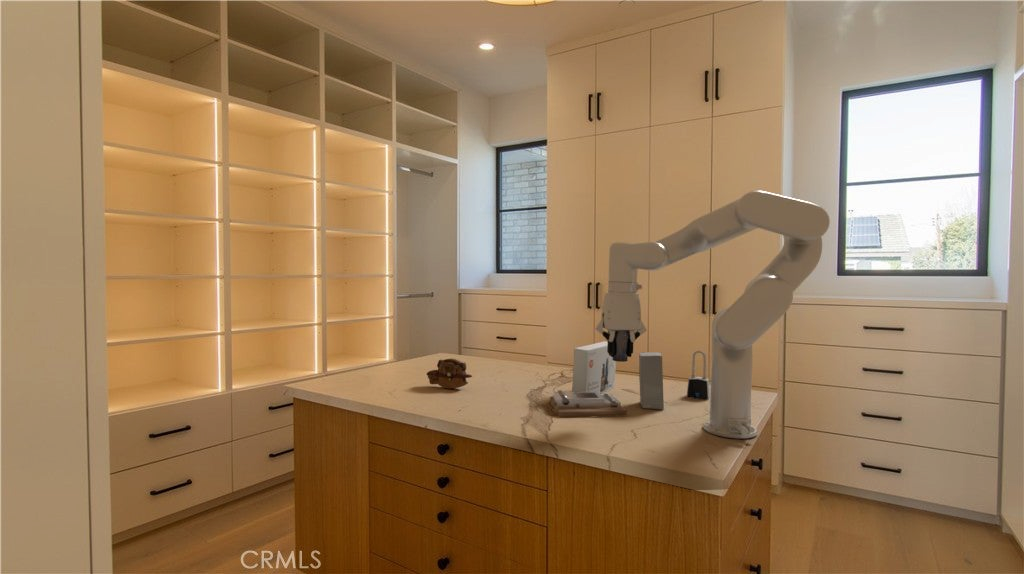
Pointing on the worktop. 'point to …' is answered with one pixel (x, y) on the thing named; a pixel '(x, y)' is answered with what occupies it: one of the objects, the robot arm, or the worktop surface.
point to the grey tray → (584, 400)
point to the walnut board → (588, 411)
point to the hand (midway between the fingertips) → (620, 355)
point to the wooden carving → (449, 374)
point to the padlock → (698, 382)
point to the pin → (621, 346)
